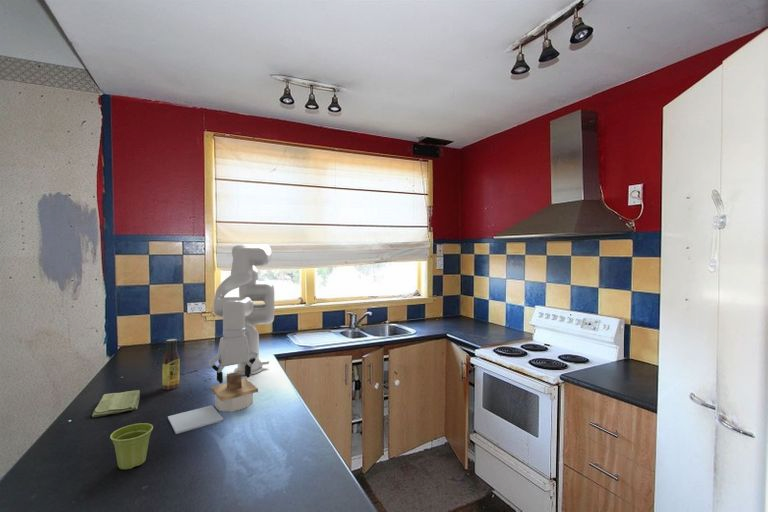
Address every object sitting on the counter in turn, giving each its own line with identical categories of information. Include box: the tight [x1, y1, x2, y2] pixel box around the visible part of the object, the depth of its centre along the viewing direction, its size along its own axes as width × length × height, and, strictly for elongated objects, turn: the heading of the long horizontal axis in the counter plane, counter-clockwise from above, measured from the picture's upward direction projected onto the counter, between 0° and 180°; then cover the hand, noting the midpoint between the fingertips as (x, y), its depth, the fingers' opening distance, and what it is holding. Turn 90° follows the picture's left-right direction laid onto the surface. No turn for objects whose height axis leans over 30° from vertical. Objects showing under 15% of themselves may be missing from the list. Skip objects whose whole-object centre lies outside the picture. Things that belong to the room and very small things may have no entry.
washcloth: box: [91, 389, 141, 418], centre depth 133 cm, size 13×18×3 cm
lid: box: [210, 372, 259, 401], centre depth 134 cm, size 13×13×6 cm
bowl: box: [214, 393, 254, 413], centre depth 134 cm, size 12×12×5 cm
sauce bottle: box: [161, 338, 181, 391], centre depth 150 cm, size 7×6×20 cm
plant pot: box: [109, 422, 154, 470], centre depth 97 cm, size 9×9×9 cm
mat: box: [167, 404, 224, 435], centre depth 122 cm, size 14×14×1 cm
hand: (234, 379), depth 134 cm, fingers open, 9 cm apart
